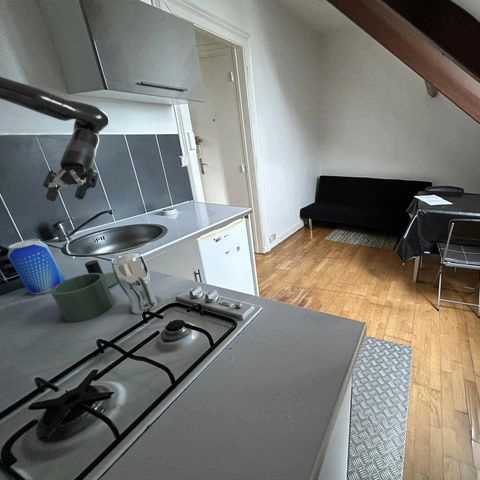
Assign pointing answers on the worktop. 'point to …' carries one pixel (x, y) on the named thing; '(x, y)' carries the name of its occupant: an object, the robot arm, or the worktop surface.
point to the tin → (83, 297)
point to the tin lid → (95, 268)
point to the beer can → (35, 266)
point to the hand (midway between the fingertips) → (64, 199)
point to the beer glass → (135, 281)
